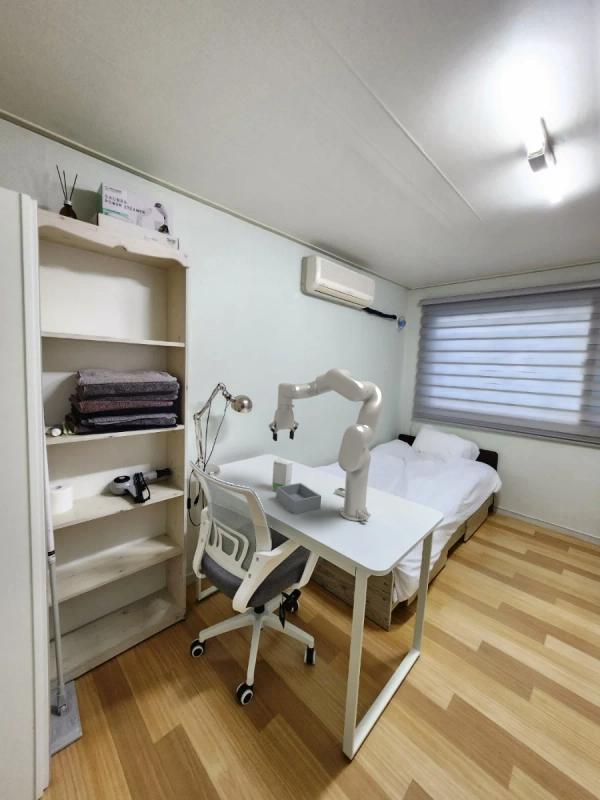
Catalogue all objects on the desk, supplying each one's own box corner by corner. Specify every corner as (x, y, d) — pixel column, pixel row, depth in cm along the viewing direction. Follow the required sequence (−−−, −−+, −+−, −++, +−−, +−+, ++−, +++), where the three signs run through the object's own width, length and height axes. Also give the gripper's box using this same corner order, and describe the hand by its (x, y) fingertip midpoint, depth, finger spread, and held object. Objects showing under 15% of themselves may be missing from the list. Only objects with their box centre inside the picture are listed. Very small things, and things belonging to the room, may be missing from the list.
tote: (320, 508, 143) (321, 495, 142) (294, 514, 135) (295, 501, 135) (300, 493, 158) (300, 482, 157) (276, 498, 150) (276, 487, 150)
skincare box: (271, 489, 161) (272, 461, 160) (278, 485, 167) (279, 458, 166) (285, 493, 157) (286, 464, 156) (291, 489, 163) (292, 460, 162)
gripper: (295, 405, 165) (293, 437, 167) (266, 406, 156) (265, 439, 158) (302, 407, 159) (301, 440, 161) (273, 408, 150) (271, 443, 152)
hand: (283, 439), depth 160 cm, fingers open, 9 cm apart
